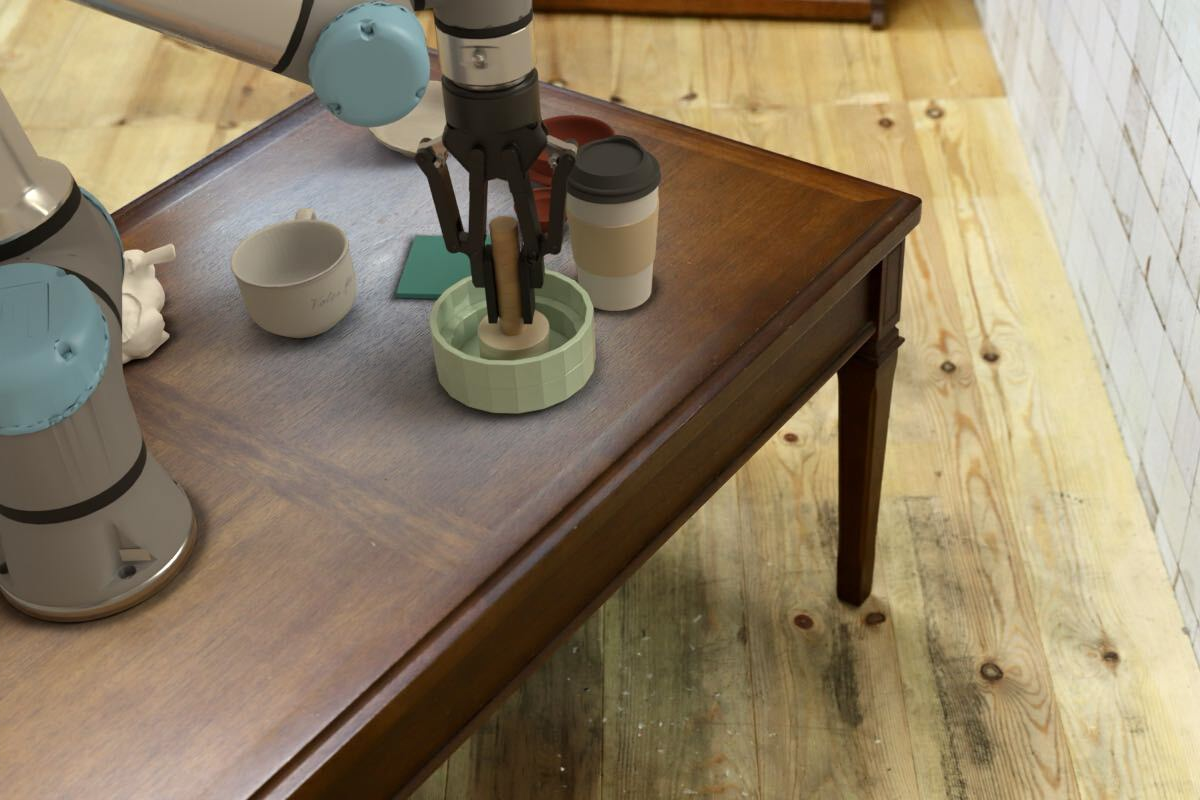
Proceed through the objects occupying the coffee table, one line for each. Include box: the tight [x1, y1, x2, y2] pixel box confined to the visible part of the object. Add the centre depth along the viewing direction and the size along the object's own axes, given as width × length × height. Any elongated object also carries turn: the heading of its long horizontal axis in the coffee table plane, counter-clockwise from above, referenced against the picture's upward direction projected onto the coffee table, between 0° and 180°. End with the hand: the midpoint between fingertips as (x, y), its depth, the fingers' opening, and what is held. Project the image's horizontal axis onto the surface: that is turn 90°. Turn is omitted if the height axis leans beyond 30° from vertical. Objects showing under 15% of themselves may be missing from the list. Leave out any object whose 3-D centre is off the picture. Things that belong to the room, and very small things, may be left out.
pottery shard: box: [367, 79, 446, 158], centre depth 154 cm, size 10×11×5 cm
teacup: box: [229, 207, 358, 339], centre depth 129 cm, size 14×11×8 cm
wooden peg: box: [477, 215, 551, 361], centre depth 120 cm, size 6×6×14 cm
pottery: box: [513, 114, 617, 234], centre depth 144 cm, size 12×20×4 cm, turn 168°
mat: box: [395, 234, 491, 300], centre depth 136 cm, size 10×10×1 cm
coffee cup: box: [566, 134, 662, 312], centre depth 127 cm, size 9×9×15 cm
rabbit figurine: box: [122, 243, 177, 365], centre depth 126 cm, size 12×8×10 cm, turn 165°
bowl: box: [428, 268, 597, 414], centre depth 122 cm, size 14×14×6 cm
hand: (512, 314), depth 121 cm, fingers closed on wooden peg, 2 cm apart
